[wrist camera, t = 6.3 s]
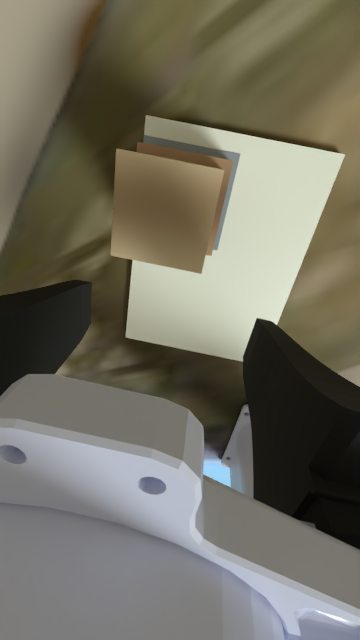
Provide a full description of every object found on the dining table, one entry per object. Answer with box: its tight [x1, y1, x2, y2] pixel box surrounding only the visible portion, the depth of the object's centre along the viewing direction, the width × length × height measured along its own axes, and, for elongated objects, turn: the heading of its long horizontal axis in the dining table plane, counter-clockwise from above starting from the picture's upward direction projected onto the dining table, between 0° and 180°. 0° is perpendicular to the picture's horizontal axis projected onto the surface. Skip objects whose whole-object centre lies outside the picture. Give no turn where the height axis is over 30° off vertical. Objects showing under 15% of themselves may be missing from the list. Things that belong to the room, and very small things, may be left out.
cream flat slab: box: [126, 115, 345, 362], centre depth 21 cm, size 16×12×1 cm
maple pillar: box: [111, 149, 225, 274], centre depth 13 cm, size 4×4×5 cm
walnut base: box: [136, 142, 233, 256], centre depth 17 cm, size 5×5×4 cm
